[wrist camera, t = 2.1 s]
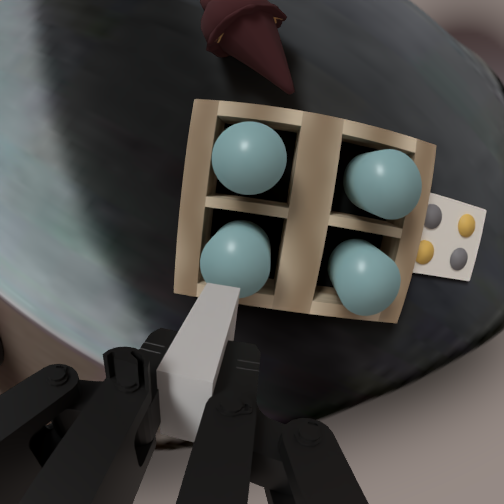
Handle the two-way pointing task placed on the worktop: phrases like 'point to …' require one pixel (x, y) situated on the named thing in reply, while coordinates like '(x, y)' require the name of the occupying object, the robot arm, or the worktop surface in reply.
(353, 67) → the worktop surface
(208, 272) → the teal rounded lump
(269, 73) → the icecream
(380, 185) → the teal blunt tapered piece
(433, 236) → the card
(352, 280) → the teal domed cylinder
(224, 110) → the wooden compartment tray
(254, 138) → the teal blunt egg shape
